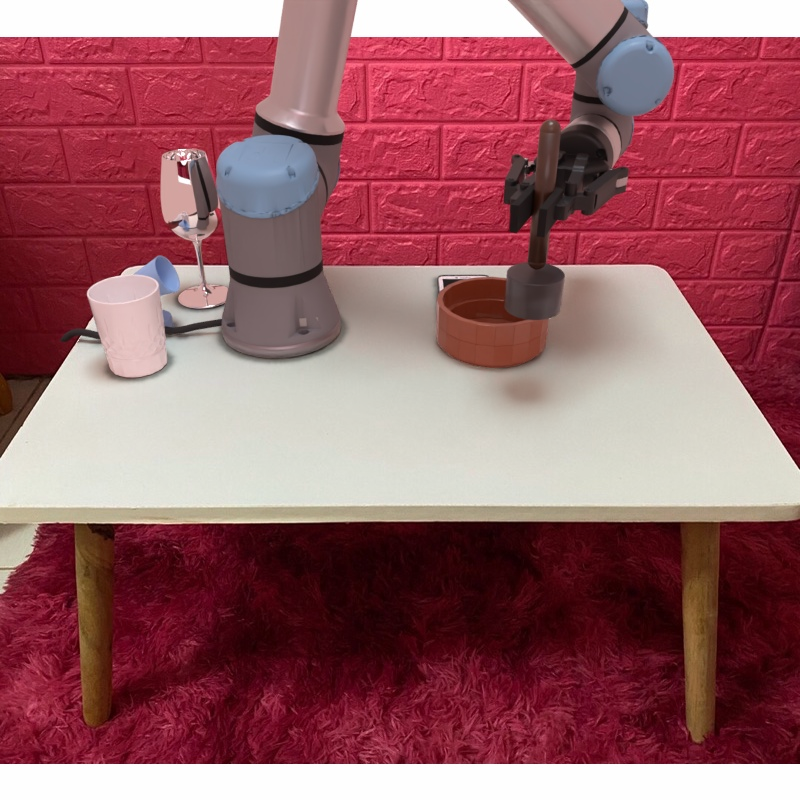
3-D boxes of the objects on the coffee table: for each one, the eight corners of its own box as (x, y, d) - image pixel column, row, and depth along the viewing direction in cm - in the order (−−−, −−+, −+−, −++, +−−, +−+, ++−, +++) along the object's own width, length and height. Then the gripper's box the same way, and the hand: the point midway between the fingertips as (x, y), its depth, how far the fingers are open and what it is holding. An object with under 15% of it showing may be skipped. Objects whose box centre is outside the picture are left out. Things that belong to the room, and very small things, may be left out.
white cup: (154, 384, 90) (138, 306, 84) (92, 377, 91) (72, 300, 86) (183, 351, 96) (170, 277, 91) (125, 345, 97) (109, 271, 92)
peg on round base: (500, 317, 81) (515, 125, 70) (507, 293, 86) (522, 110, 75) (558, 323, 80) (582, 129, 69) (562, 298, 85) (585, 113, 74)
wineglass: (192, 315, 104) (168, 167, 94) (168, 295, 110) (142, 153, 99) (243, 299, 109) (226, 155, 98) (217, 281, 114) (198, 143, 103)
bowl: (426, 363, 94) (427, 319, 90) (446, 313, 105) (447, 272, 102) (541, 376, 91) (546, 331, 88) (548, 323, 102) (553, 282, 99)
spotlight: (190, 320, 103) (139, 319, 104) (178, 249, 98) (125, 248, 98) (179, 337, 99) (127, 336, 99) (166, 265, 94) (111, 264, 94)
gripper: (642, 195, 90) (602, 271, 72) (517, 180, 95) (450, 247, 77) (653, 129, 86) (615, 191, 68) (522, 116, 91) (453, 171, 73)
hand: (527, 221), depth 72 cm, fingers closed on peg on round base, 2 cm apart
